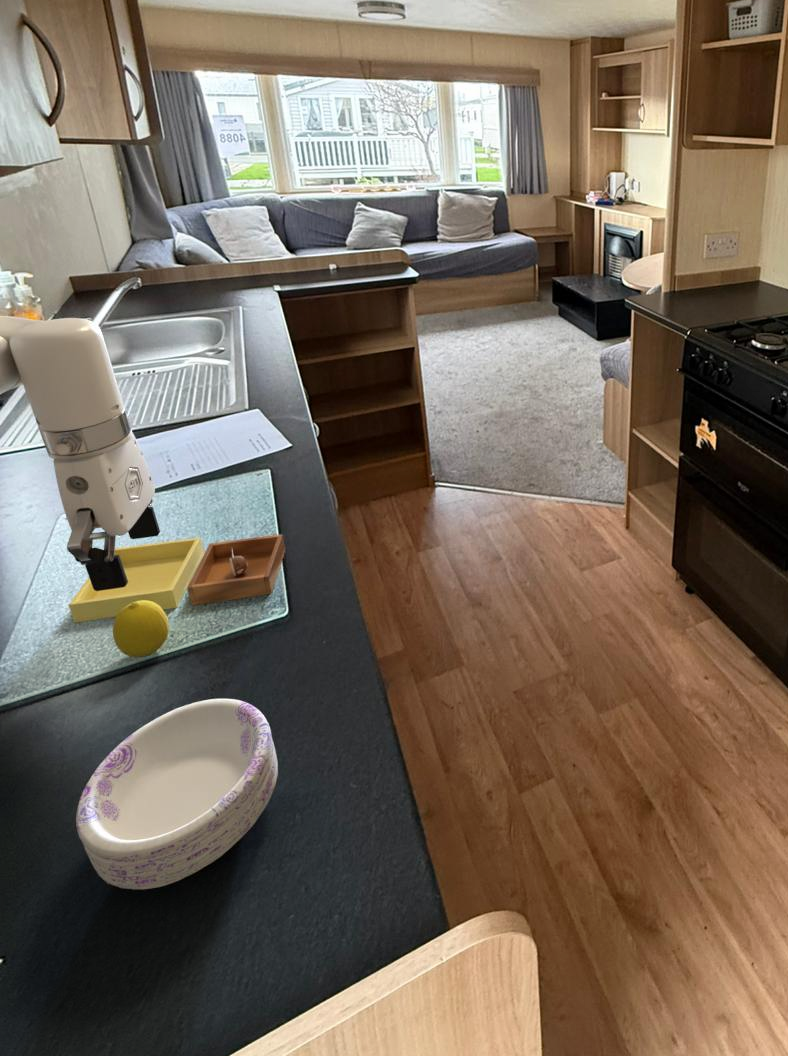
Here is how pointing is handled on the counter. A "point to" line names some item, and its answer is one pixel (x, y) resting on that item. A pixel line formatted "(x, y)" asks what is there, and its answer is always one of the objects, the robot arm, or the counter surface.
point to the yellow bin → (143, 579)
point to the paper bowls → (177, 793)
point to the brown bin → (218, 577)
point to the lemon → (140, 628)
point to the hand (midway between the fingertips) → (129, 560)
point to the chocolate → (238, 564)
